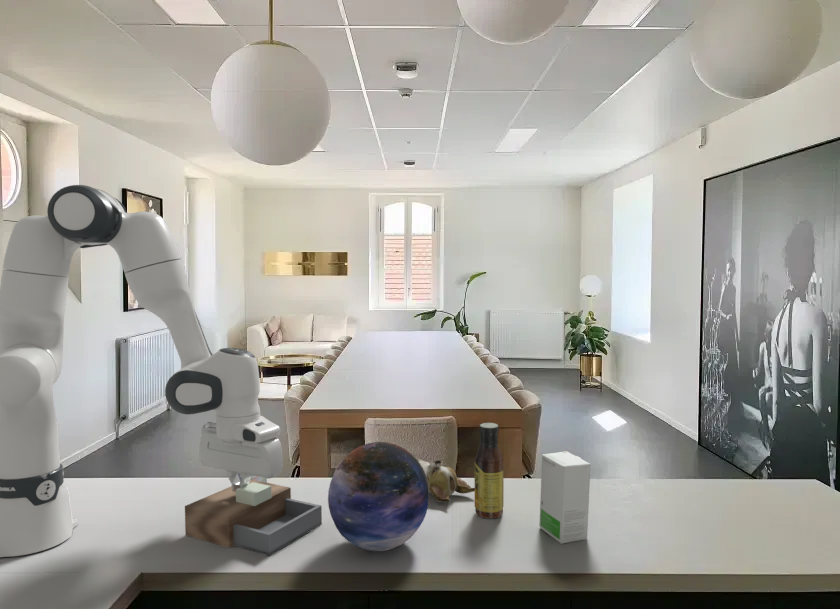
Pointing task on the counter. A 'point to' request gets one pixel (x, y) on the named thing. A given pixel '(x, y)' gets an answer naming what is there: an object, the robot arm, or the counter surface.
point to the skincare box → (564, 496)
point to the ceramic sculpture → (443, 480)
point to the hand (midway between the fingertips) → (240, 491)
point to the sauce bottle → (489, 474)
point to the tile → (253, 494)
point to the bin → (280, 528)
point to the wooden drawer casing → (232, 514)
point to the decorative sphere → (378, 496)
